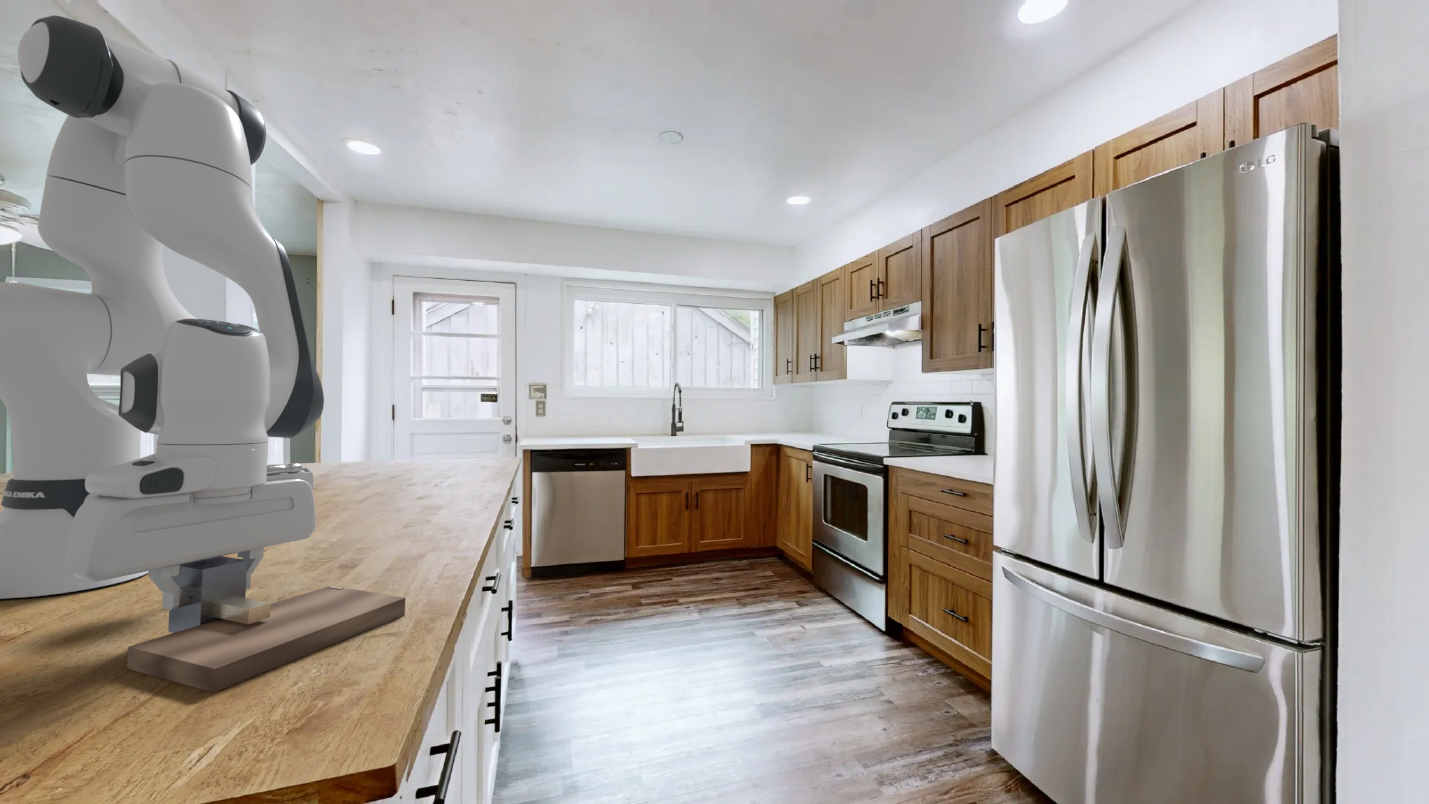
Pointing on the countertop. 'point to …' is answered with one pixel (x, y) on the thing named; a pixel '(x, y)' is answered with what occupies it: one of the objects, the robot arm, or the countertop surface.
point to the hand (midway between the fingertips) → (208, 598)
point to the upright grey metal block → (215, 594)
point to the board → (262, 638)
